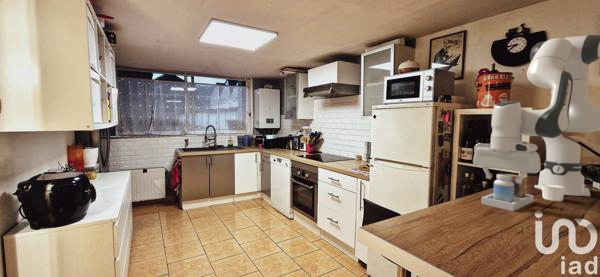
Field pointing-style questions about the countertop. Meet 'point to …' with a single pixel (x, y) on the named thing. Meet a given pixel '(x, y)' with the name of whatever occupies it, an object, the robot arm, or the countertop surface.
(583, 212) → the countertop surface
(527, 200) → the grey compartment tray
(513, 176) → the brown wooden block
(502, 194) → the pill bottle
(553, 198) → the white ramekin
